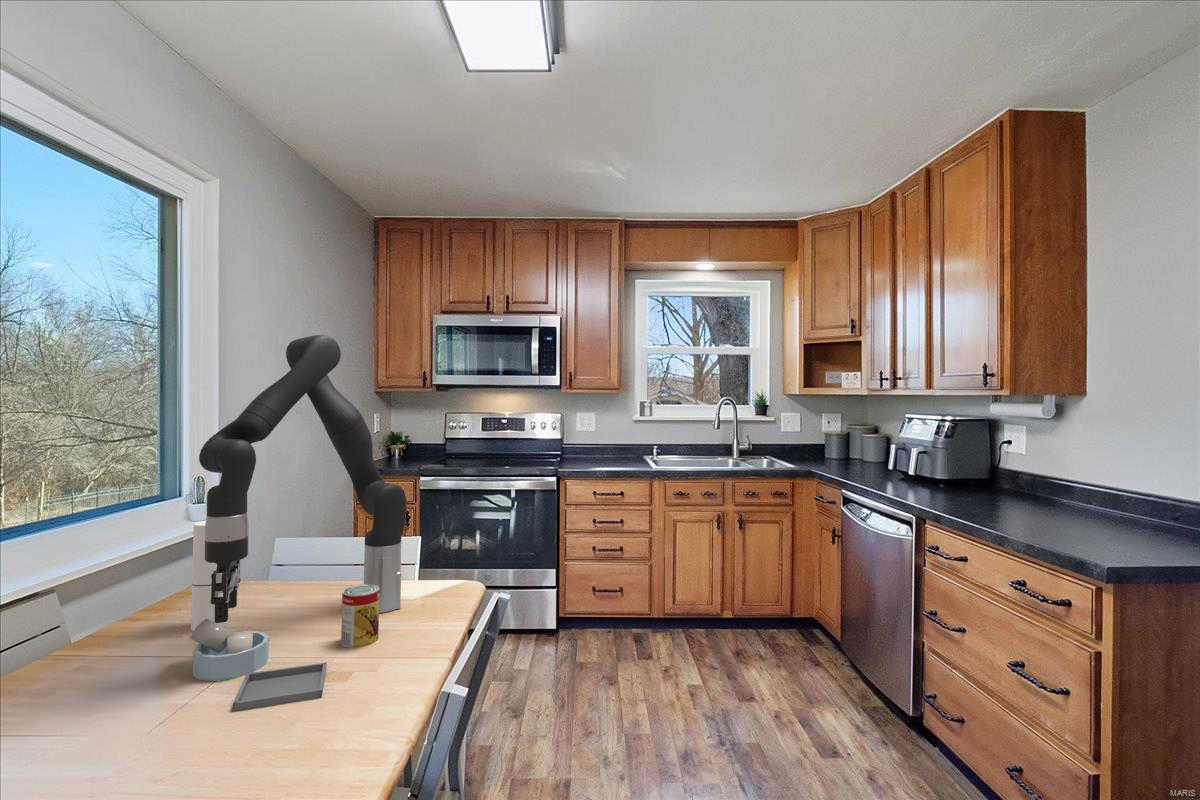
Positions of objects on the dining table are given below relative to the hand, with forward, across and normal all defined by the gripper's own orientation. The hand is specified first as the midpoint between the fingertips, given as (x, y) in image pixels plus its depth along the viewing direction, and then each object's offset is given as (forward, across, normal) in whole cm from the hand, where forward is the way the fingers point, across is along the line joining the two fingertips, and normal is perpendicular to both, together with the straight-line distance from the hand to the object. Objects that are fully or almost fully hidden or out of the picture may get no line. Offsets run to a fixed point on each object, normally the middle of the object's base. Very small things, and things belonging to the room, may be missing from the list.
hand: (226, 614), depth 117 cm
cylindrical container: (+11, +26, +8) cm, 29 cm away
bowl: (+10, -2, -1) cm, 11 cm away
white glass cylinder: (+10, -3, -3) cm, 10 cm away
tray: (+11, -16, -12) cm, 23 cm away
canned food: (+11, +3, -25) cm, 28 cm away
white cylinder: (+5, -1, 0) cm, 5 cm away
